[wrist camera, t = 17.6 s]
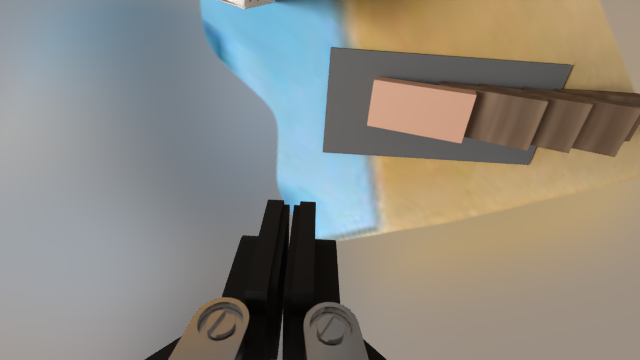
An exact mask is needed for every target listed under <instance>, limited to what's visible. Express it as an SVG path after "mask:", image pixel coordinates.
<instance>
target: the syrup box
mask: <svg viewBox="0 0 640 360" xmlns="http://www.w3.org/2000/svg"><path fill="white" fill-rule="evenodd" d="M219 1H222V2H225V3H228V4H231V5H234V6H237V7H240V8H243V9H247V8H252V7H256V6H261V5H265V4H269V3H273V2H275V0H219Z"/></svg>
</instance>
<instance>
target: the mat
mask: <svg viewBox="0 0 640 360" xmlns="http://www.w3.org/2000/svg"><path fill="white" fill-rule="evenodd" d="M572 66H573V65H567V64H553V63H539V62H525V61H511V60H498V59H484V58H470V57H456V56H442V55H429V54H415V53H401V52H387V51H373V50H359V49H346V48H332V47H331V54H330V67H329V79H328V92H327V105H326V118H325V130H324V143H323V152H327V153H343V154H359V155H376V156H392V157H408V158H425V159H441V160H457V161H474V162H490V163H506V164H523V165H529V163H530V160H531V158H532V156H533V154H534V151H535V149H536V147H537V146H532V145H530V146H529V148H528V150H527V151H526V150H521V149H517V148H512V147H508V146H503V145H498V144H494V143H489V142H485V141H480V140H475V139H471V138H466V137H463V140H462V143H456V142H451V141H445V140H440V139H435V138H430V137H424V136H419V135H414V134H409V133H404V132H398V131H393V130H388V129H383V128H377V127H372V126H367V122H368V115H369V109H370V102H371V96H372V89H373V83H374V79H375V78H376V77H385V78H392V79H399V80H406V81H412V82H419V83H426V84H433V85H438V84H439V83H440V82H441V81H447V82H453V83H459V84H465V85H472V86H478V87H479V85H480V83H482V84H488V85H494V86H501V87H507V88H514V89H520V90H522V87H529V88H536V89H542V90H549V91H554V88H557V89H562V88H563V86H564V84H565V81H566V79H567V77H568V75H569V72H570V70H571V68H572Z"/></svg>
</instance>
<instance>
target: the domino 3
mask: <svg viewBox="0 0 640 360" xmlns="http://www.w3.org/2000/svg"><path fill="white" fill-rule="evenodd" d="M479 87H484V88H490V89H497V90H503V91H509V92H515V93H521V94H528V95H534V96H540V97H546V98H547V100H548V104H547V106H546V109H545V111H544V113H543V116H542V118H541V120H540V123H539V125H538V127H537V129H536V132H535V134H534V136H533V139H532V141H531V143H530V145H532V146H537V147H542V148H546V149H551V150H556V151H561V152H565V153H569V151H570V149H571V147H572V145H573V143H574V141H575V140H576V138H577V136H578V134H579V132H580V130H581V128H582V126H583V124H584V122H585V120H586V118H587V116H588V114H589V112H590V110H591V108H592V106H593V104H592V103H591V102H590V101H589V100H584V99H577V98H571V97H564V96H558V95H552V94H545V93H539V92H533V91H526V90H520V89H514V88H507V87H501V86H494V85H488V84H482V83H480V85H479Z"/></svg>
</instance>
